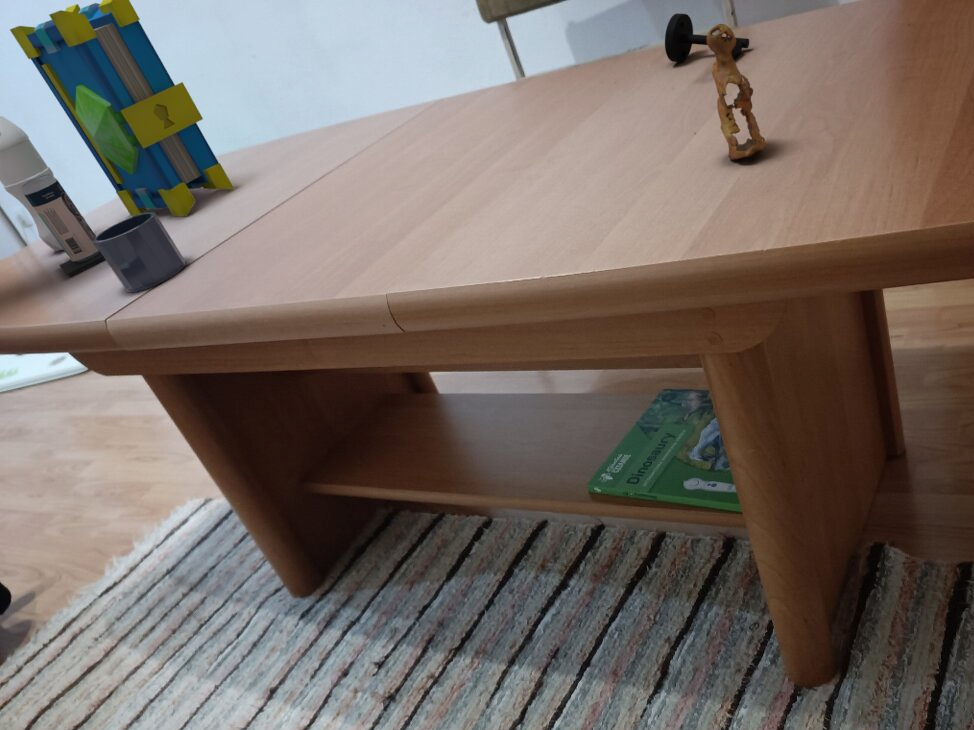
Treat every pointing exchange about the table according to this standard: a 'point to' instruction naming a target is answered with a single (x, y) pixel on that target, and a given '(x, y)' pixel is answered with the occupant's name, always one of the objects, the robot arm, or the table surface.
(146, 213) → the cup
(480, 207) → the table surface
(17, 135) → the water bottle
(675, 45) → the light fixture
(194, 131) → the decorative book
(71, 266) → the mat
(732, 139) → the figurine
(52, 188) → the supplement bottle
